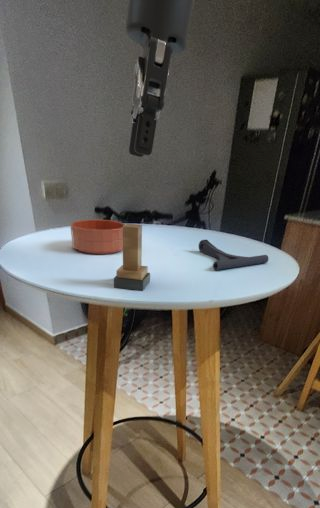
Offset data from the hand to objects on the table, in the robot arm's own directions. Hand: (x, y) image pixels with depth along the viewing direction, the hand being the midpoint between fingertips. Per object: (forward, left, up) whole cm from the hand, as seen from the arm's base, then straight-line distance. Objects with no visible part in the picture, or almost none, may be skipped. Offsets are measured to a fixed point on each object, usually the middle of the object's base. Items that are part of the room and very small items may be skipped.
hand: (138, 154), depth 50 cm
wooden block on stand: (-2, +3, -19) cm, 19 cm away
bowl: (-16, +26, -19) cm, 36 cm away
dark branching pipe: (+12, +27, -19) cm, 35 cm away
